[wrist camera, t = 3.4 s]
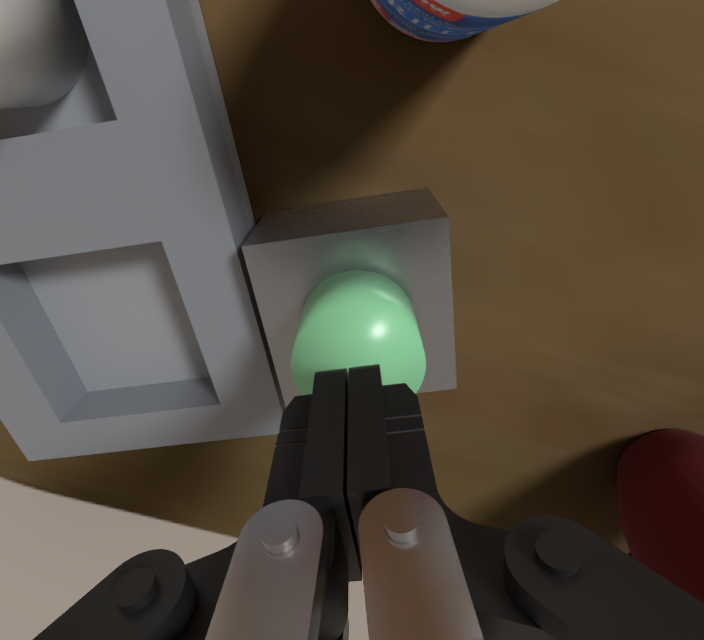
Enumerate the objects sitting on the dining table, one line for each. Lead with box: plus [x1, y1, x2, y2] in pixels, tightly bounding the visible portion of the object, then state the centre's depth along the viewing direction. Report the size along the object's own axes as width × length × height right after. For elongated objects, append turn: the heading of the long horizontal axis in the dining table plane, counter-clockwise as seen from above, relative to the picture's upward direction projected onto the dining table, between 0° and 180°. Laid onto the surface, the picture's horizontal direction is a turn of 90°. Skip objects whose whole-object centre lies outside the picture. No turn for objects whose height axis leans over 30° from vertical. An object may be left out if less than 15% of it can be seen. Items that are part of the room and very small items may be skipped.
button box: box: [241, 188, 457, 407], centre depth 16 cm, size 6×6×4 cm
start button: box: [291, 270, 426, 395], centre depth 13 cm, size 4×4×2 cm
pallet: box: [0, 0, 286, 461], centre depth 15 cm, size 11×20×3 cm, turn 9°
